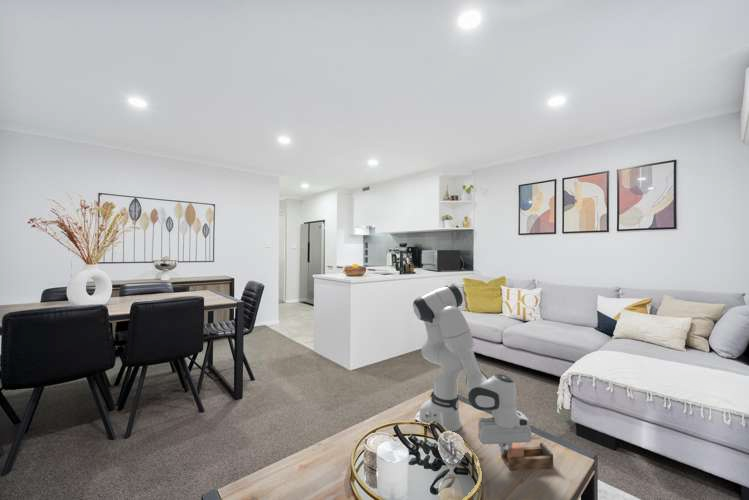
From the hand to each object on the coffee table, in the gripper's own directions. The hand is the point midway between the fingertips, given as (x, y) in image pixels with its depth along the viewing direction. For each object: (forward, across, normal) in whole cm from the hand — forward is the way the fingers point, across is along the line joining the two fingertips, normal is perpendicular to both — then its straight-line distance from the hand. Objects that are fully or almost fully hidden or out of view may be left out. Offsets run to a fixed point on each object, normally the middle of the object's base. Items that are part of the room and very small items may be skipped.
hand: (504, 452), depth 120 cm
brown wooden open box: (+5, +9, 0) cm, 10 cm away
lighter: (+5, +4, +12) cm, 14 cm away
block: (+4, +4, 0) cm, 6 cm away
